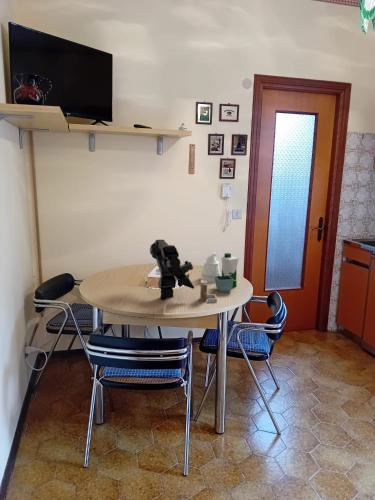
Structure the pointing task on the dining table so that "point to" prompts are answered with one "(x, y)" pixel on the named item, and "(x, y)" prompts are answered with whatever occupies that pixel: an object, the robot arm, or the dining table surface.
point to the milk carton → (230, 267)
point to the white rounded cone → (210, 269)
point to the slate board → (212, 297)
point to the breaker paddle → (203, 290)
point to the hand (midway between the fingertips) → (193, 288)
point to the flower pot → (224, 283)
